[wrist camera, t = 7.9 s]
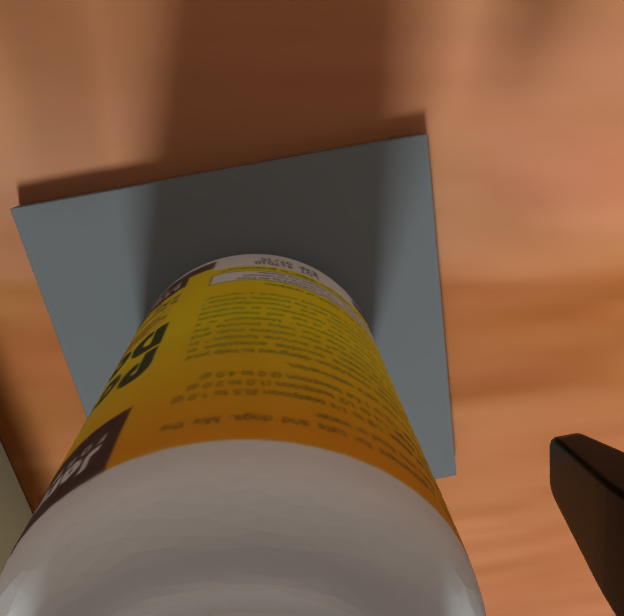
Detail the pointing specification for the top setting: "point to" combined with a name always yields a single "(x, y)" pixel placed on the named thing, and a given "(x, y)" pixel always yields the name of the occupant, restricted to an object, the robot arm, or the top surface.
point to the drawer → (10, 509)
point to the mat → (257, 240)
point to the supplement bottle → (245, 469)
